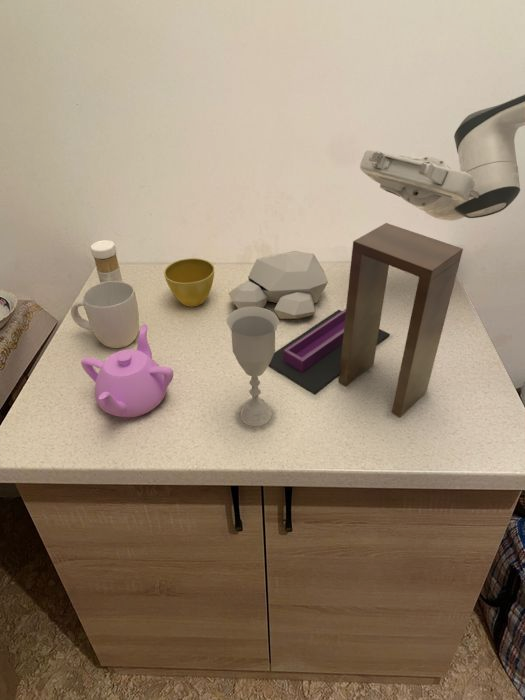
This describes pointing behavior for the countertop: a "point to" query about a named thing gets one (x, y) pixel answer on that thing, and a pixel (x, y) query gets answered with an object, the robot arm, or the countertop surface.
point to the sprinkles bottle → (106, 261)
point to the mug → (110, 313)
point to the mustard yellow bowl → (190, 280)
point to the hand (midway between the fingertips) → (398, 161)
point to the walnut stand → (427, 314)
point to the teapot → (129, 380)
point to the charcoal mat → (319, 371)
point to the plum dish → (316, 344)
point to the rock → (283, 284)
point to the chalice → (253, 355)
